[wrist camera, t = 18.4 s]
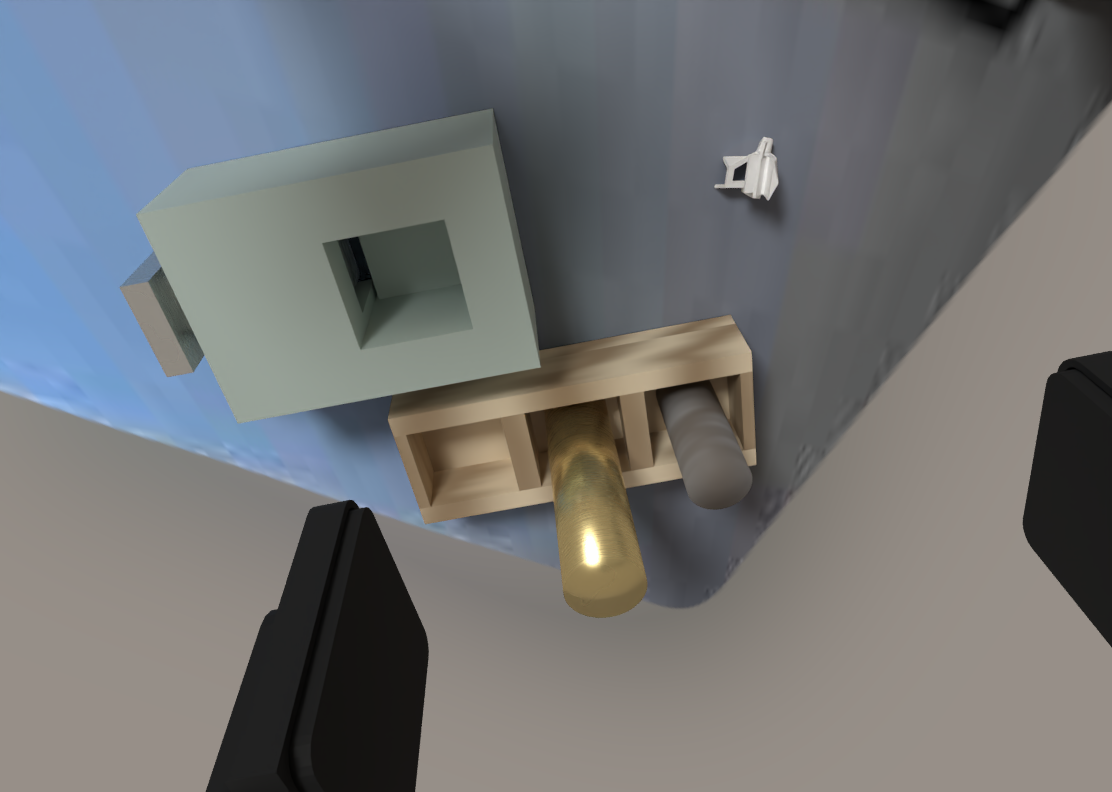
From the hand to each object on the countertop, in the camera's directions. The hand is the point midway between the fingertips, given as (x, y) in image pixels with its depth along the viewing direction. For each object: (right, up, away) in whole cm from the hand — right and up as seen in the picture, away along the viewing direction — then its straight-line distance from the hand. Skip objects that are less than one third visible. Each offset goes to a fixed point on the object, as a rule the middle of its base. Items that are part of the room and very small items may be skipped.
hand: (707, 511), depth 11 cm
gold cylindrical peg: (-1, +1, +31) cm, 31 cm away
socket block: (-11, +9, +27) cm, 30 cm away
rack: (-1, +1, +32) cm, 32 cm away
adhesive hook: (+6, +13, +26) cm, 30 cm away
